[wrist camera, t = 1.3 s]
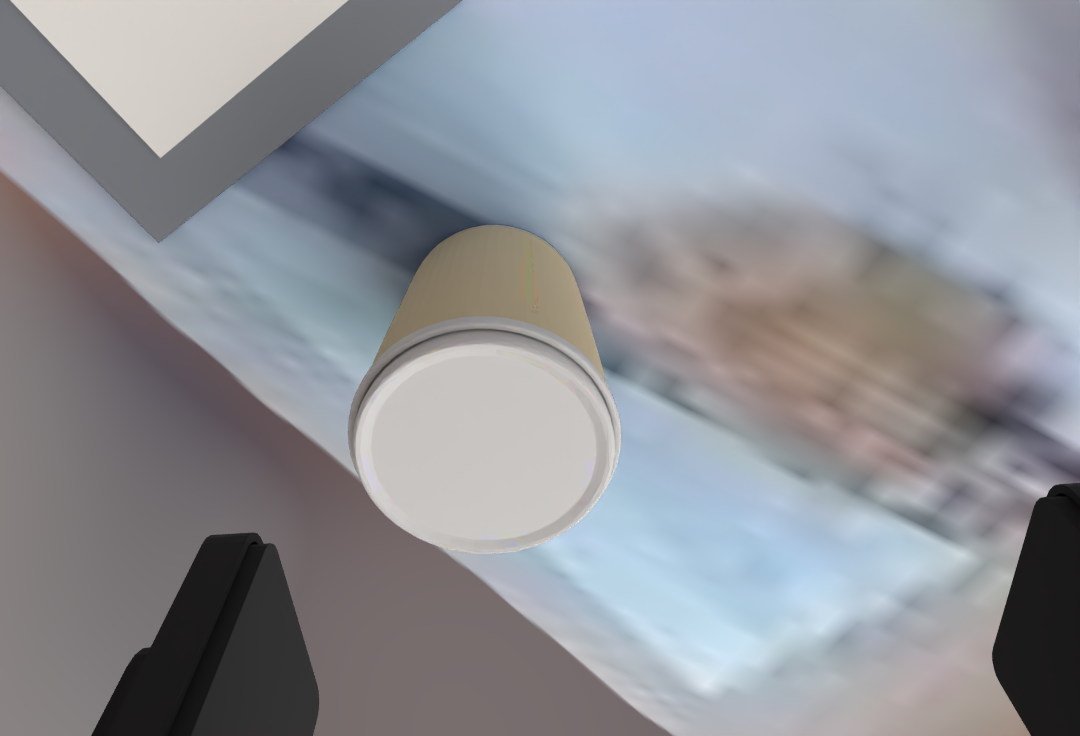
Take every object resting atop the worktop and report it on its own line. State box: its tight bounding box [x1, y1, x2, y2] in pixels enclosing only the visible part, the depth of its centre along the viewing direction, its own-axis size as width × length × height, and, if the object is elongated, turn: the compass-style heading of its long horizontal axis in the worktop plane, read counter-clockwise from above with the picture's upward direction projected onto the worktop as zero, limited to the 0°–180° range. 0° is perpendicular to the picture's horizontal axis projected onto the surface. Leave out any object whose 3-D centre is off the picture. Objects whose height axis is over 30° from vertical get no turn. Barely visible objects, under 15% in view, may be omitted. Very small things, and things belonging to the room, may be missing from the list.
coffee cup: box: [348, 225, 621, 554], centre depth 33 cm, size 9×9×12 cm
